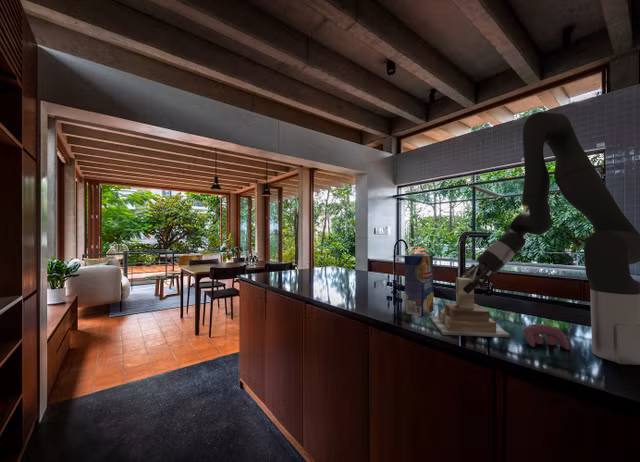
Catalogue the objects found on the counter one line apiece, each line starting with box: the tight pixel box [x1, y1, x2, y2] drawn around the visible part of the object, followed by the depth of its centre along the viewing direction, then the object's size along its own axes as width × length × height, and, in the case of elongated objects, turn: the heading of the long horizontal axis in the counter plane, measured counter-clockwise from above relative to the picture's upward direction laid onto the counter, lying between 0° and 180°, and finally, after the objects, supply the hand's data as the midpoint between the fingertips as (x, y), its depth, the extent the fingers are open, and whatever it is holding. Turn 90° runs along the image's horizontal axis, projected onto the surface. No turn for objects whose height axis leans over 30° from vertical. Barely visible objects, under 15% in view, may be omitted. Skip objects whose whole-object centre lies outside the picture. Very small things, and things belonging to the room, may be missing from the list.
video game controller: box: [523, 323, 570, 350], centre depth 83 cm, size 10×5×7 cm, turn 76°
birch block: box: [455, 277, 475, 309], centre depth 100 cm, size 4×4×10 cm
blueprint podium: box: [429, 302, 511, 338], centre depth 99 cm, size 18×20×7 cm
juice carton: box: [403, 253, 435, 317], centre depth 120 cm, size 12×8×24 cm, turn 137°
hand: (460, 289), depth 100 cm, fingers open, 8 cm apart
